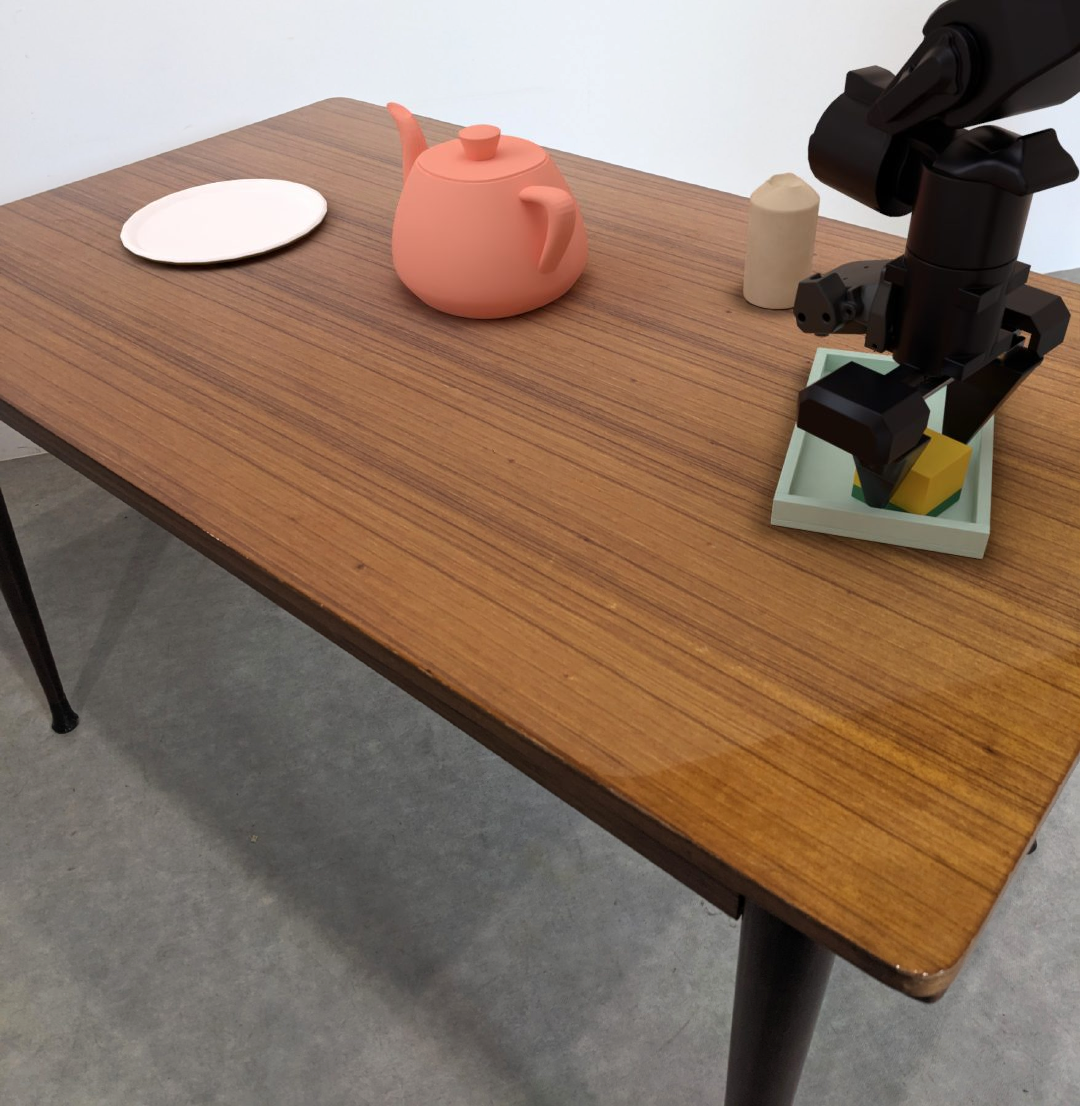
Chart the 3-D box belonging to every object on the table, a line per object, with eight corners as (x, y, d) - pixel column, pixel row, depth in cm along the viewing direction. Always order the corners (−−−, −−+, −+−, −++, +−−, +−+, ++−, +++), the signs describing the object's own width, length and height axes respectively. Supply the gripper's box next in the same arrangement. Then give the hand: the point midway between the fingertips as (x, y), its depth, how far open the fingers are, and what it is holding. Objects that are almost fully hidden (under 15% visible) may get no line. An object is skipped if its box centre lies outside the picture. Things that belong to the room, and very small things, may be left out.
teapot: (336, 264, 99) (309, 118, 91) (478, 213, 107) (465, 74, 98) (496, 359, 84) (481, 195, 75) (649, 291, 92) (651, 135, 83)
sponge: (959, 500, 66) (973, 447, 64) (918, 531, 64) (930, 478, 62) (892, 467, 69) (902, 416, 67) (850, 496, 67) (859, 444, 65)
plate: (84, 237, 108) (80, 226, 107) (250, 175, 119) (248, 163, 118) (198, 292, 96) (195, 279, 96) (370, 217, 108) (368, 205, 107)
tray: (982, 559, 63) (989, 533, 61) (770, 524, 66) (773, 499, 65) (990, 391, 77) (996, 367, 75) (814, 370, 80) (817, 346, 79)
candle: (813, 308, 88) (828, 190, 81) (747, 311, 88) (756, 193, 81) (802, 279, 92) (815, 164, 85) (738, 281, 92) (747, 168, 86)
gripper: (933, 159, 65) (894, 375, 75) (730, 260, 57) (717, 488, 67) (1107, 207, 59) (1038, 438, 69) (906, 330, 50) (862, 572, 60)
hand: (912, 479), depth 66 cm, fingers open, 8 cm apart
